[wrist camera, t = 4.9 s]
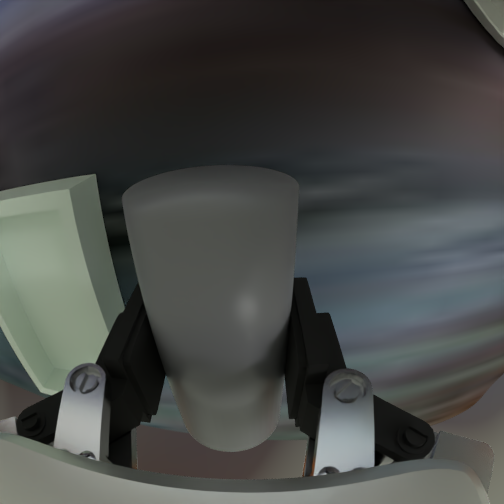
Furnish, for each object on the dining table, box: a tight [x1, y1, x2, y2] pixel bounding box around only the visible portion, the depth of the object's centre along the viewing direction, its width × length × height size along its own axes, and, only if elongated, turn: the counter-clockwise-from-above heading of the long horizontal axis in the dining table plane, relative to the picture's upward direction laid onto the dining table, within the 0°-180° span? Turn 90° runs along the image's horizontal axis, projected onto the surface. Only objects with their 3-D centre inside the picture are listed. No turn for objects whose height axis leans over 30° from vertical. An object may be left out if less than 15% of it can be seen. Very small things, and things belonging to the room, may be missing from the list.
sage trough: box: [0, 174, 125, 395], centre depth 15 cm, size 15×9×3 cm, turn 1°
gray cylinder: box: [122, 165, 299, 452], centre depth 10 cm, size 11×4×4 cm, turn 1°
